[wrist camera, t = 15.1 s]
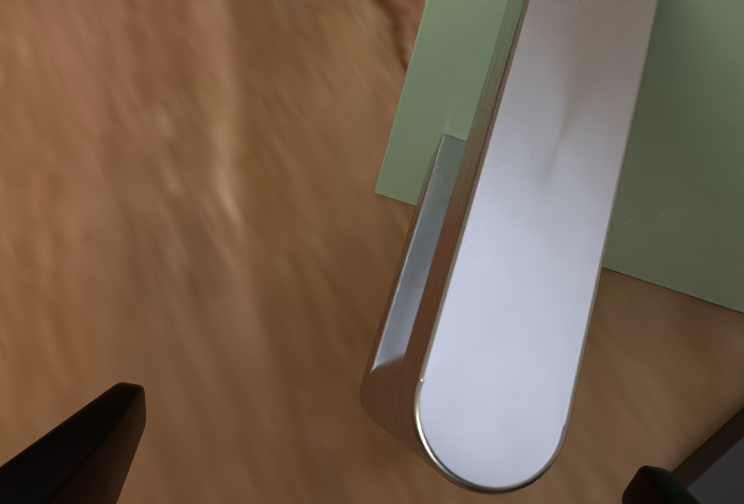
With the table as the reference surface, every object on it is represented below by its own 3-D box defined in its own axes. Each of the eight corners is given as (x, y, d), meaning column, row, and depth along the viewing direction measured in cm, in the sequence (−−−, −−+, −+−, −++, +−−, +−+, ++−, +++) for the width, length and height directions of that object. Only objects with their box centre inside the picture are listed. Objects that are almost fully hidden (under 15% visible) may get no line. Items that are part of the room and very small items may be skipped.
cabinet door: (763, 541, 17) (1813, 927, 5) (307, 395, 17) (267, 432, 5) (791, 305, 19) (1610, 174, 7) (380, 171, 19) (483, -204, 7)
